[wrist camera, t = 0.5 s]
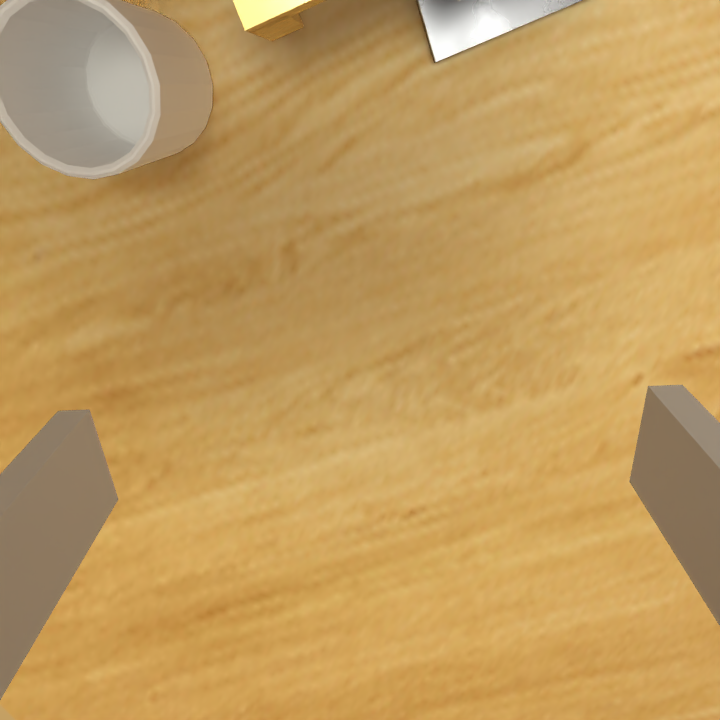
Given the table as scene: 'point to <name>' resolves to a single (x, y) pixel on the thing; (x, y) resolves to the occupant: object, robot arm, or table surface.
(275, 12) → the metal rod stand
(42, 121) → the mug
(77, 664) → the table surface
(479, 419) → the table surface
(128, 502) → the table surface
